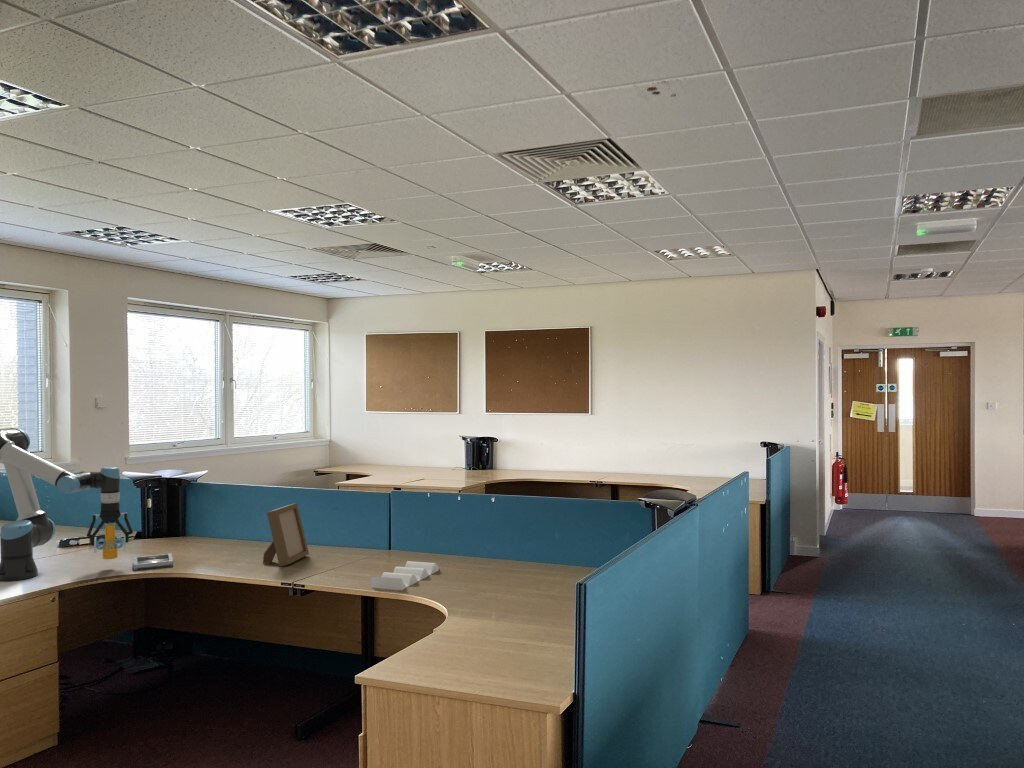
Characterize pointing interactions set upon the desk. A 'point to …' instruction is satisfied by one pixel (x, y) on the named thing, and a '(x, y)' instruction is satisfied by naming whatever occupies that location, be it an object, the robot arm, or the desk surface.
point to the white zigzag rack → (404, 575)
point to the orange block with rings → (110, 543)
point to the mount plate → (153, 561)
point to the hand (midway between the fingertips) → (110, 551)
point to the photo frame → (286, 536)
